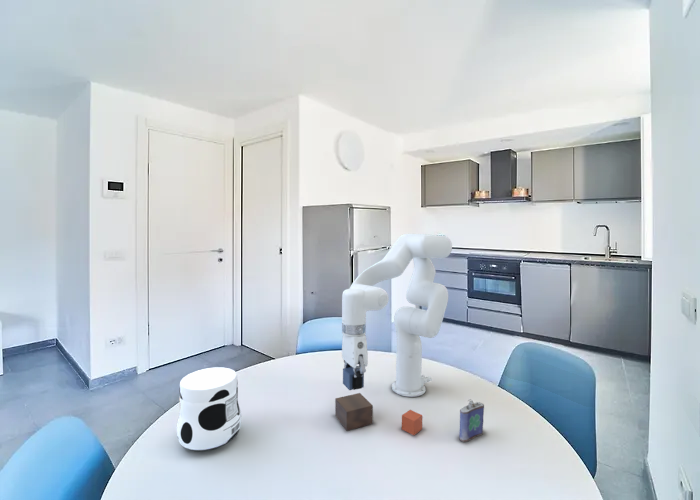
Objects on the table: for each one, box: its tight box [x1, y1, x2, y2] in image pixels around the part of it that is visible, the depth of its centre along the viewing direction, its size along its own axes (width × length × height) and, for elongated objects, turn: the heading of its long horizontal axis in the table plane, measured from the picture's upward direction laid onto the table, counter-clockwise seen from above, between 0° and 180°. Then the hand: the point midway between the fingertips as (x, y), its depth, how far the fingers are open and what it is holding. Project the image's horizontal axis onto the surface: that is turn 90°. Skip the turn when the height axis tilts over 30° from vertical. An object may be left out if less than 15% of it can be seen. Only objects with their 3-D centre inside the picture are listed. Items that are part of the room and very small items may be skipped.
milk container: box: [176, 366, 242, 452], centre depth 98 cm, size 17×17×18 cm
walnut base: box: [334, 392, 374, 432], centre depth 108 cm, size 9×9×6 cm
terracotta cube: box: [401, 409, 423, 436], centre depth 103 cm, size 4×4×4 cm
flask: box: [458, 398, 485, 443], centre depth 100 cm, size 9×3×11 cm, turn 121°
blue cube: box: [342, 367, 365, 391], centre depth 107 cm, size 5×5×5 cm
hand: (353, 384), depth 108 cm, fingers closed on blue cube, 5 cm apart
